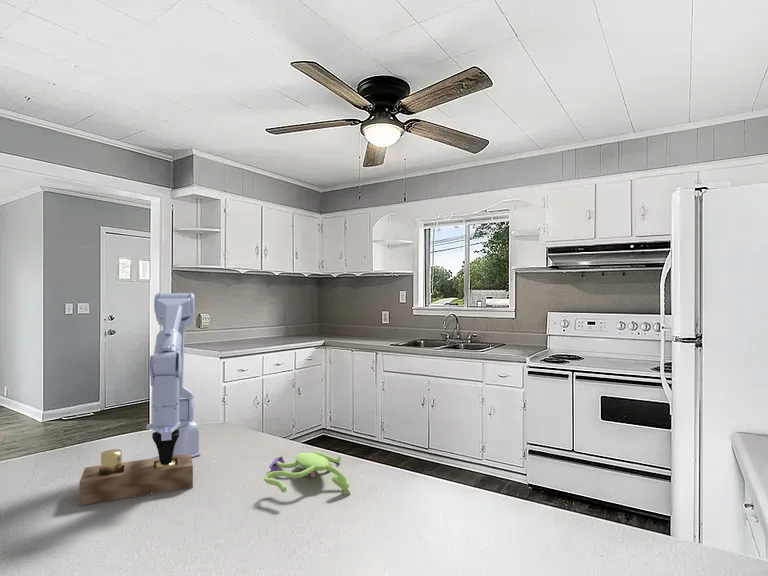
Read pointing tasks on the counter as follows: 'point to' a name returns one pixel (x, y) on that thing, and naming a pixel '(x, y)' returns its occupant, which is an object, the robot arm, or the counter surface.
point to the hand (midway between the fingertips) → (165, 463)
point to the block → (135, 480)
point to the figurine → (309, 462)
